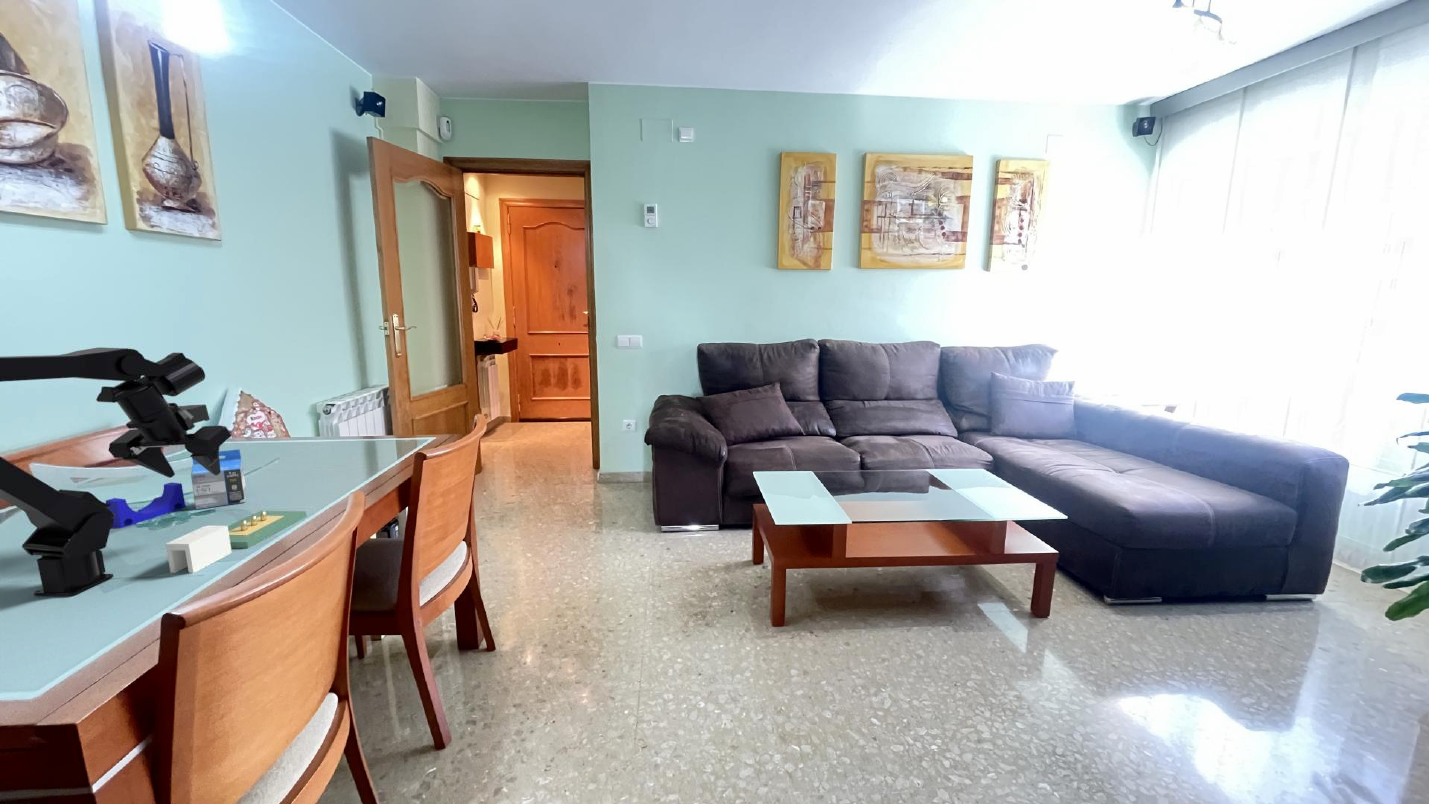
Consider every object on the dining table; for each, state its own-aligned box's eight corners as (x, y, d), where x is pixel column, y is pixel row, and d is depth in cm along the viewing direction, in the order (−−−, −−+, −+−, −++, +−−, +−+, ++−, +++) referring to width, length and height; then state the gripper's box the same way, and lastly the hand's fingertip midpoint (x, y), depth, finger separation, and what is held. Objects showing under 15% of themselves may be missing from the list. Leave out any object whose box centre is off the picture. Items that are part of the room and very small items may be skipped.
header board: (248, 548, 108) (245, 532, 108) (196, 547, 108) (193, 531, 107) (306, 516, 124) (304, 502, 123) (261, 515, 124) (259, 502, 123)
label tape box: (195, 510, 126) (186, 458, 124) (198, 504, 130) (190, 453, 127) (245, 503, 131) (238, 452, 129) (247, 497, 134) (240, 448, 132)
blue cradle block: (170, 506, 129) (165, 481, 128) (185, 508, 128) (181, 483, 127) (105, 527, 117) (99, 499, 116) (121, 529, 116) (116, 501, 115)
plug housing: (193, 573, 98) (188, 544, 97) (170, 573, 98) (165, 543, 97) (231, 553, 106) (227, 525, 105) (210, 552, 106) (206, 525, 105)
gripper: (229, 385, 109) (268, 448, 118) (135, 389, 109) (180, 452, 118) (185, 417, 100) (230, 483, 108) (82, 422, 100) (135, 487, 108)
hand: (195, 475), depth 111 cm, fingers open, 9 cm apart
